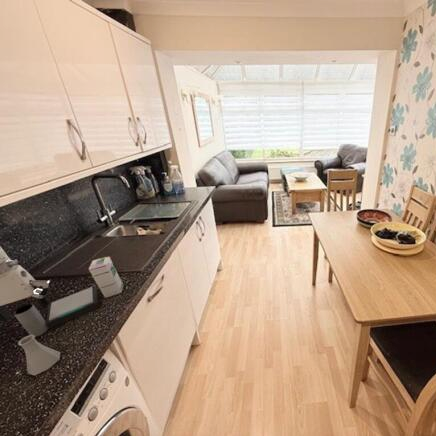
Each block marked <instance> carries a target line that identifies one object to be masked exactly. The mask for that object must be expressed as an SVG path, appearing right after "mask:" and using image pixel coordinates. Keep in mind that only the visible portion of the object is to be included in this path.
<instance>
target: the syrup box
mask: <svg viewBox="0 0 436 436" xmlns="http://www.w3.org/2000/svg"><path fill="white" fill-rule="evenodd" d="M88 271H89V273H90V274H91V276H92V278H93V280H94V281H95V283H96V285H97V286H98V288H99V290H100V292H101V294H102V295H103V297H104V298H105V299H106V298H109V297H113V296H116V295H119V294H122V292H123V288H124V283H123V280H122V279H121V276H120V275H119V273H118V271H117V268H116V267H115V265H114V262H113V261H112V258H111V256H109V255H108V256H103V257H100V258H96V259H94V260H93V259H92V261H91V263H90V265H89V267H88Z"/></svg>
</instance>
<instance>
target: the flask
mask: <svg viewBox="0 0 436 436" xmlns="http://www.w3.org/2000/svg"><path fill="white" fill-rule="evenodd" d="M17 345H18V346H21V348H22V349H23V351H24V353H25V358H26V371H27V375H31V376H37V375H40V374H41V373H43V372H45V371H47V370H49V369H51V367H52V366H54V365H55V364H56V363H57V362H58V361H60V359H61V351H58V350H56V349H53V348H50V347H48V346H46V345H44V344H42V343H40V342H38V340H37V339H36V337H35V336H34V335H30V334H28V335H26V336H24V337H23V338H21V339H20V340H18V343H17Z"/></svg>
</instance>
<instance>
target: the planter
mask: <svg viewBox="0 0 436 436" xmlns="http://www.w3.org/2000/svg"><path fill="white" fill-rule="evenodd" d="M12 314H13V315H14V317H15V318H16V319H17V320H18V322H19V323H20V324H21V326H22V327H23V328H24V329H25V331H26V332H27V333H28V335H34V336H35V338H36V337H39V336H41V335H43V334H44V333H46V332H47V331H48V330H50V329H49V328H48V327H47V325H46V319H45V318H44V317H43V316H42V314H41V313H40V311H39V310H38V309H37V308H36V306H35V305H34V303H26V304H23V305H21V306H19V307H18V308H16V309H15V310H14V311H13V313H12Z"/></svg>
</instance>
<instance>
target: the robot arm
mask: <svg viewBox="0 0 436 436" xmlns="http://www.w3.org/2000/svg"><path fill="white" fill-rule="evenodd" d="M50 285H51V281H50V280H36V279H35V278H34V277H33V276H32V275H31V274H30V273H29V272H28V270H26V269H25V268H24V267H23V266H22V265H20V264H19V260H18V259H12V258H11V257H9V256H8V254H7V253H6V251H4V249H3V248H2V246H1V245H0V320H1V321H2V322H3V323H6V322H8V321H9V320H10V318H11V317H12V314H13V313H11V312H10V311H9V309H8V308H7V307H6V306H5V305H8V304H12V303H14V302H15V303H16V302H18V301H21V300H24V299H28V298H31V297H33V298H35V299H37V302H38V303H39V304H40V306H41V307H42V308H43V309H45V310H46V309H48V307H49V304H51V303H52V302H51V299H50V297H49V296H48V295H47V293H48V291H49V289H50ZM39 287H42V288H39Z"/></svg>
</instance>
